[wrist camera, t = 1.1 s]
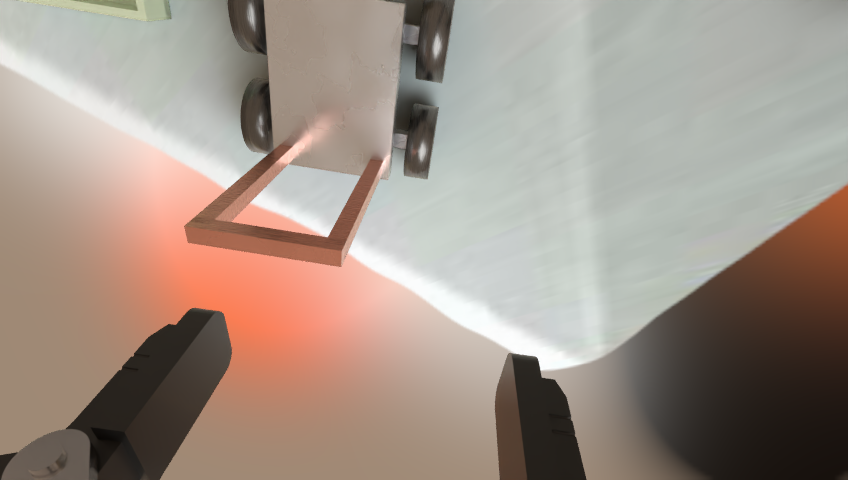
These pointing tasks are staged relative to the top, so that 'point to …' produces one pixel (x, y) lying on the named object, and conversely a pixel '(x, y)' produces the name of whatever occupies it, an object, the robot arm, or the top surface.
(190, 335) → the robot arm
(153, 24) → the top surface
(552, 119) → the top surface
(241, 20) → the trolley
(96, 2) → the tray
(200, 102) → the top surface
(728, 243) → the top surface
